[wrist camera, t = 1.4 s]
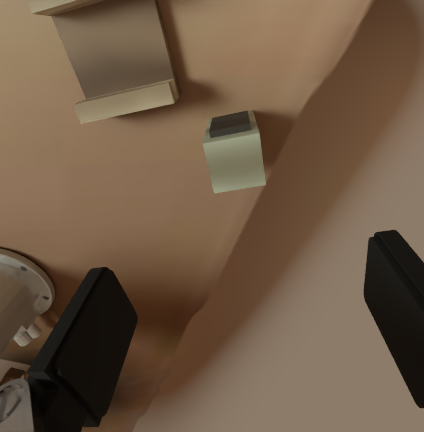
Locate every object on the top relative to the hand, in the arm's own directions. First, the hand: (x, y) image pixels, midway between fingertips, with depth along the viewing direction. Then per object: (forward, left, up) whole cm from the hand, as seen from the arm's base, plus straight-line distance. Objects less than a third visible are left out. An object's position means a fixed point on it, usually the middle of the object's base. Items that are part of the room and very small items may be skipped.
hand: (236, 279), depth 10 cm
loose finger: (0, 0, -19) cm, 19 cm away
